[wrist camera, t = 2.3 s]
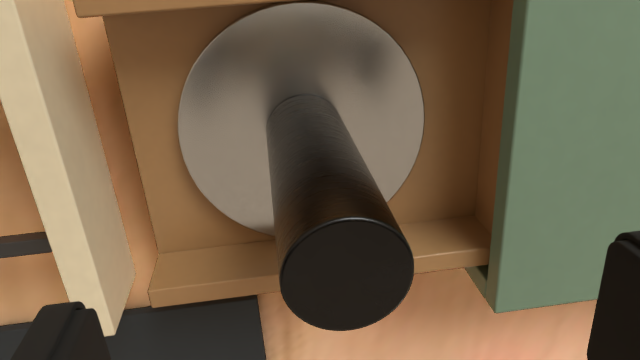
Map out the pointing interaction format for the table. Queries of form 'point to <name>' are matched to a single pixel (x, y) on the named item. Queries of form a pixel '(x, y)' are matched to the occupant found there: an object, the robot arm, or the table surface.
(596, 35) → the cabinet
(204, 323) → the mat
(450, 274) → the table surface
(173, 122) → the drawer
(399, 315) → the table surface
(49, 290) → the table surface
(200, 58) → the black rod on disc
